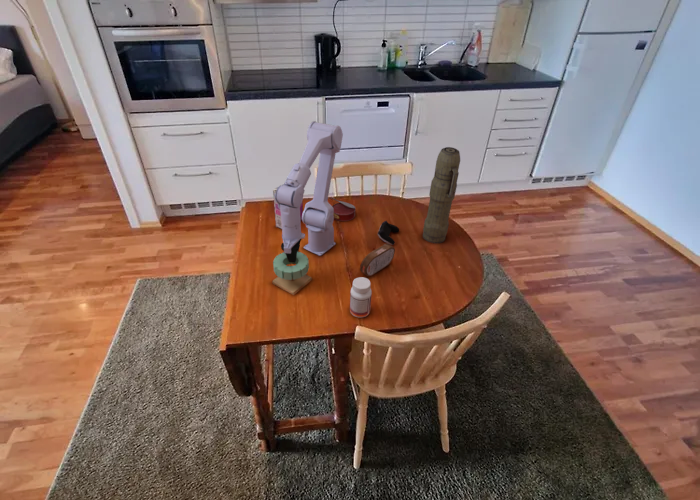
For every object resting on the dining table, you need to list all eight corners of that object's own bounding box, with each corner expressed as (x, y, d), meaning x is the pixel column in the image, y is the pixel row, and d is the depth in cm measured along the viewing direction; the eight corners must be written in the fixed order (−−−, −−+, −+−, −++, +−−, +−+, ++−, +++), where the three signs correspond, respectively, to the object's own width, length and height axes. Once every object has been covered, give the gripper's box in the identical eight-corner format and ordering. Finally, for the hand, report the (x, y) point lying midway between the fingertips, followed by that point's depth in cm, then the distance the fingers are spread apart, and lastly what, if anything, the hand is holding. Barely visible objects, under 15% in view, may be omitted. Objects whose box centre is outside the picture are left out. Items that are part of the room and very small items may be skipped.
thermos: (434, 226, 157) (450, 141, 137) (452, 242, 149) (472, 154, 128) (415, 231, 154) (429, 145, 133) (433, 247, 146) (450, 158, 125)
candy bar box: (284, 231, 151) (281, 193, 142) (275, 227, 154) (271, 189, 144) (304, 219, 159) (302, 182, 149) (294, 215, 161) (292, 178, 151)
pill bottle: (359, 300, 122) (360, 272, 115) (374, 311, 119) (377, 282, 112) (345, 311, 118) (346, 282, 111) (360, 321, 115) (362, 293, 108)
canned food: (332, 221, 167) (329, 197, 165) (355, 218, 167) (352, 194, 166) (332, 223, 156) (329, 198, 154) (357, 220, 156) (354, 194, 155)
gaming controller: (392, 234, 156) (380, 222, 154) (400, 229, 153) (389, 216, 151) (386, 249, 147) (374, 236, 145) (395, 244, 145) (383, 230, 143)
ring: (290, 254, 131) (289, 246, 129) (315, 266, 126) (315, 259, 125) (267, 270, 124) (266, 263, 122) (293, 284, 119) (292, 277, 117)
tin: (388, 258, 140) (390, 238, 135) (395, 262, 138) (397, 242, 133) (358, 277, 131) (359, 256, 126) (365, 281, 129) (367, 261, 124)
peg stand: (291, 269, 133) (290, 255, 130) (311, 280, 129) (311, 265, 126) (272, 283, 127) (270, 269, 123) (293, 295, 123) (292, 280, 119)
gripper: (299, 236, 113) (301, 273, 121) (308, 210, 125) (309, 245, 133) (275, 235, 113) (279, 271, 121) (286, 209, 125) (288, 244, 133)
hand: (293, 258), depth 127 cm, fingers closed on ring, 3 cm apart
